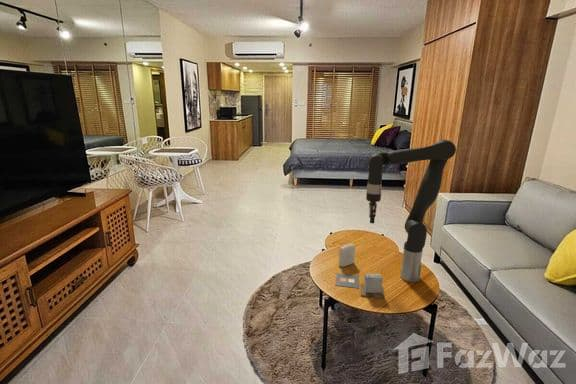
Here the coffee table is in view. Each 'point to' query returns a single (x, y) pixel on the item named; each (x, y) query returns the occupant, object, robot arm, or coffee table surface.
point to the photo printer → (346, 255)
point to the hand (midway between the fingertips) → (371, 220)
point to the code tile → (347, 280)
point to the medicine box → (373, 283)
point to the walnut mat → (373, 295)
